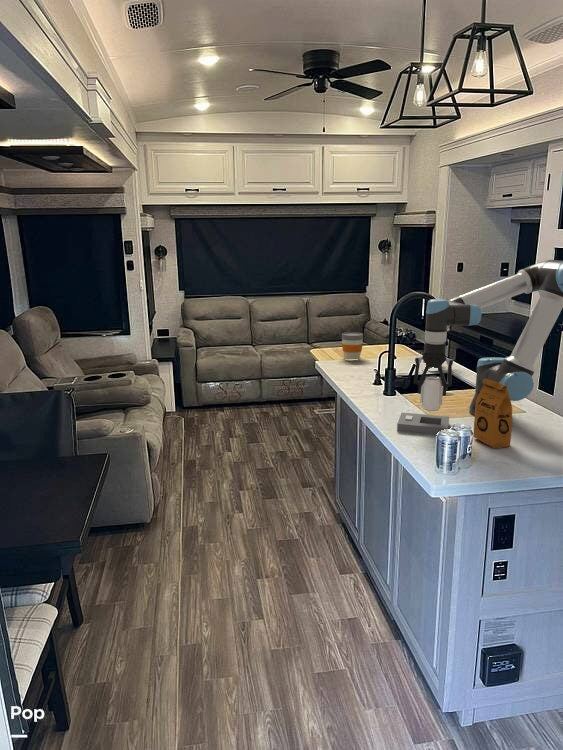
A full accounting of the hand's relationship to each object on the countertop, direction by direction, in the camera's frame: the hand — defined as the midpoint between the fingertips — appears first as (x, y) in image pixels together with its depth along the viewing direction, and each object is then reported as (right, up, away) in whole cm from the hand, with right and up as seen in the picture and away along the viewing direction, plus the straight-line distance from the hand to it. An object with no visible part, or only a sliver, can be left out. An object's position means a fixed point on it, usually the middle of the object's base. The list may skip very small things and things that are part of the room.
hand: (431, 403), depth 207 cm
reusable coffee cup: (-15, +20, +118) cm, 121 cm away
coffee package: (+18, -13, -12) cm, 26 cm away
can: (0, -2, +1) cm, 2 cm away
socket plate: (-2, -9, +3) cm, 10 cm away
